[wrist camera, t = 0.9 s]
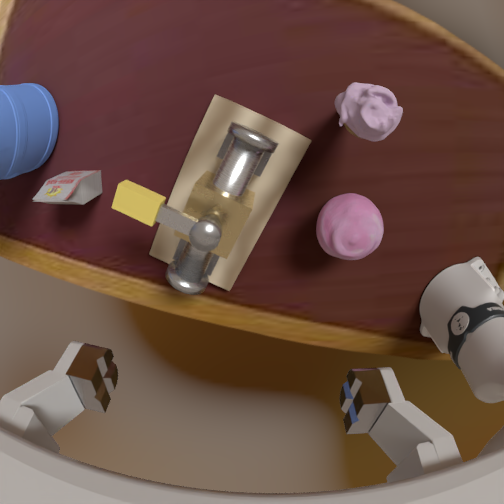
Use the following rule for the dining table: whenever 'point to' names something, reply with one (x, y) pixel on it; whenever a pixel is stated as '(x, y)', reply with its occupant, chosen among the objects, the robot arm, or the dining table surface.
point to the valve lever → (166, 215)
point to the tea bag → (71, 188)
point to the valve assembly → (227, 192)
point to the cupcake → (349, 227)
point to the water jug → (26, 128)
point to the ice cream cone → (368, 111)
